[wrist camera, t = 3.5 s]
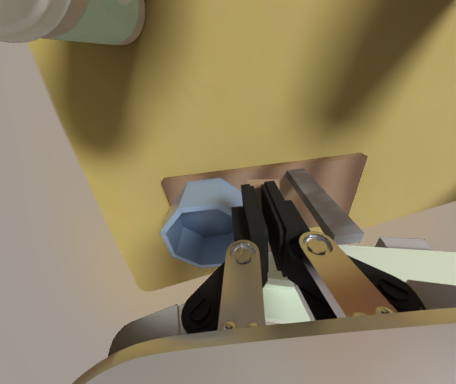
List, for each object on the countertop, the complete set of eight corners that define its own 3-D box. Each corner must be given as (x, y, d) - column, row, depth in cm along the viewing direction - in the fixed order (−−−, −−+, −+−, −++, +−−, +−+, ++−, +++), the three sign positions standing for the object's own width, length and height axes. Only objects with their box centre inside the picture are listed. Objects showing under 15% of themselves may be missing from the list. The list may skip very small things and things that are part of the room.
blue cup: (243, 174, 21) (249, 200, 17) (249, 232, 27) (254, 263, 22) (165, 184, 22) (149, 211, 17) (186, 238, 27) (178, 270, 23)
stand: (360, 152, 21) (484, 215, 11) (340, 218, 27) (409, 298, 17) (163, 178, 23) (115, 253, 13) (185, 235, 29) (164, 318, 18)
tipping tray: (494, 156, 10) (674, 219, 5) (400, 281, 17) (446, 352, 12) (250, 165, 13) (241, 209, 9) (256, 266, 20) (253, 318, 16)
